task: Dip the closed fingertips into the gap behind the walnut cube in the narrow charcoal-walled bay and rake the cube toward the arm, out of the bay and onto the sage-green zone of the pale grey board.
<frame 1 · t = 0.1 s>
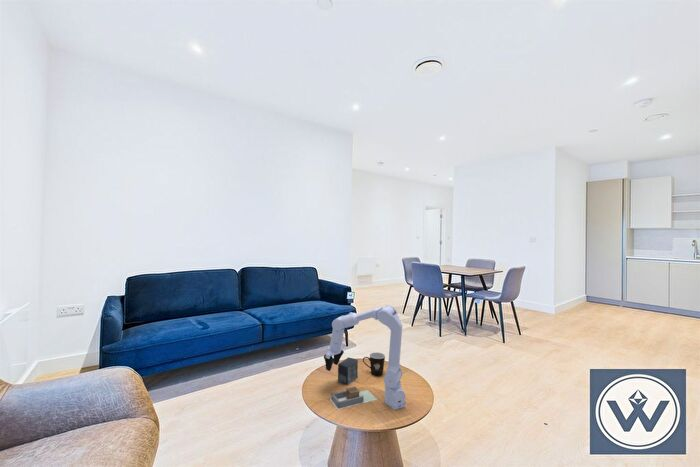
hand: (331, 367, 150), 11 cm above the table, tool pointing down, fingers open, 7 cm apart
bay board: (354, 401, 138), on the table
walnut cube: (352, 399, 138), point 1 cm above the table, touching bay board
small box: (347, 381, 157), on the table
coffee mug: (374, 373, 167), on the table
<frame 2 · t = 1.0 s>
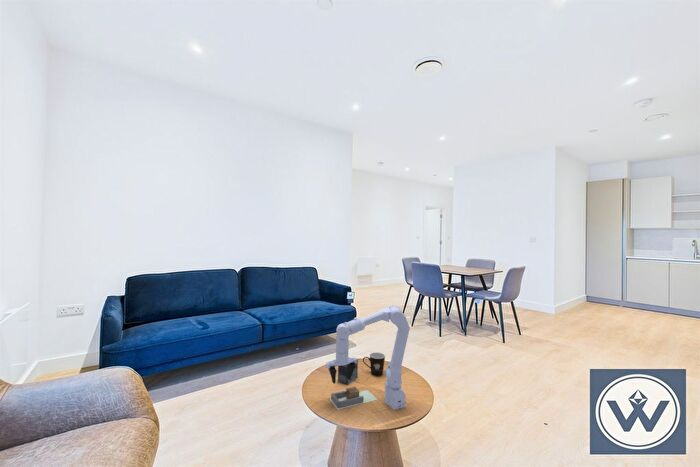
hand: (341, 380, 136), 10 cm above the table, tool pointing down, fingers open, 7 cm apart
nothing on the table moved.
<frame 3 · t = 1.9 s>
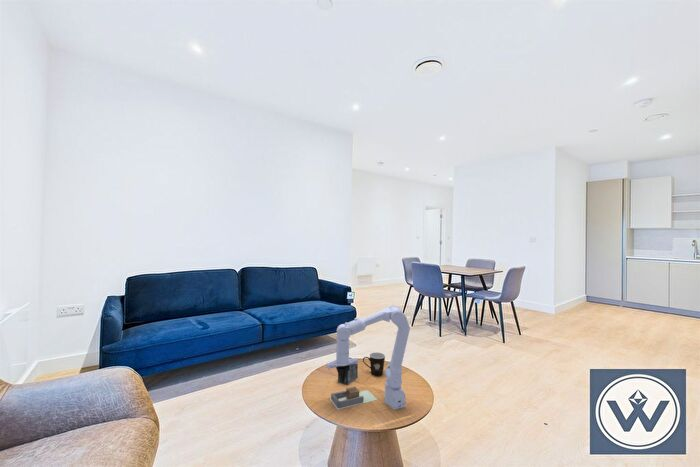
hand: (342, 381, 136), 10 cm above the table, tool pointing down, fingers closed
nothing on the table moved.
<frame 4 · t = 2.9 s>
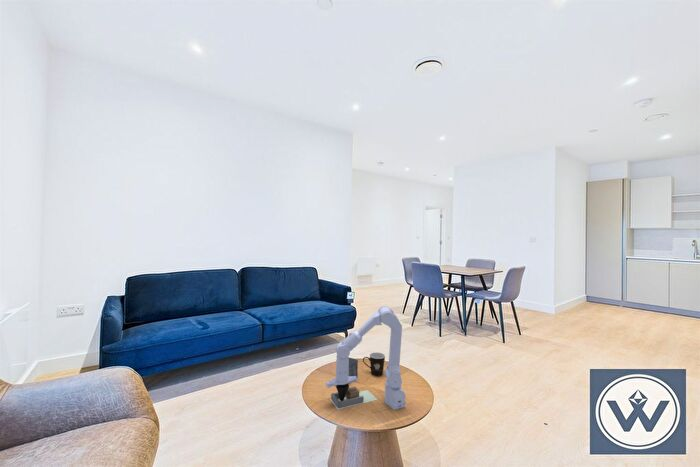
hand: (341, 399, 136), 2 cm above the table, tool pointing down, fingers closed
nothing on the table moved.
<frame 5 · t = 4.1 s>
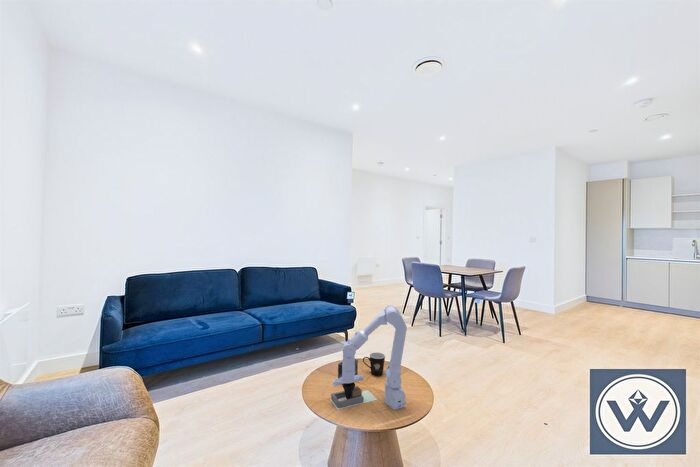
hand: (347, 398, 137), 2 cm above the table, tool pointing down, fingers closed
walnut cube: (355, 398, 139), point 1 cm above the table, touching gripper
everything else where it was.
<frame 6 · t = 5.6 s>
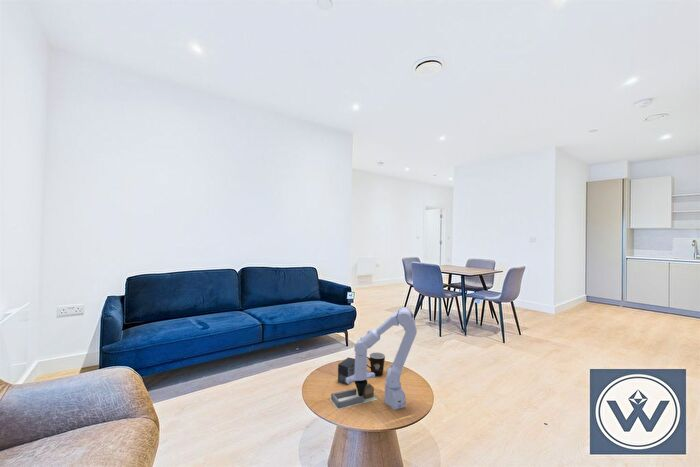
hand: (360, 395, 140), 2 cm above the table, tool pointing down, fingers closed
walnut cube: (366, 395, 141), point 1 cm above the table, touching bay board, gripper
everything else where it was.
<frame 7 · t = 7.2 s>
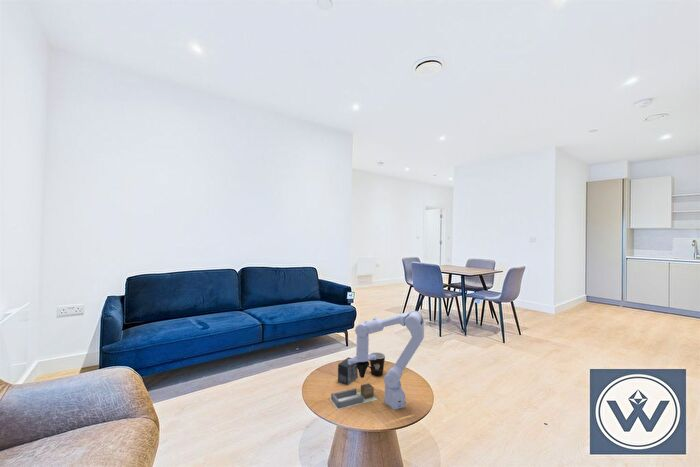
hand: (361, 376, 143), 9 cm above the table, tool pointing down, fingers closed
walnut cube: (366, 395, 141), point 1 cm above the table, touching bay board
everything else where it was.
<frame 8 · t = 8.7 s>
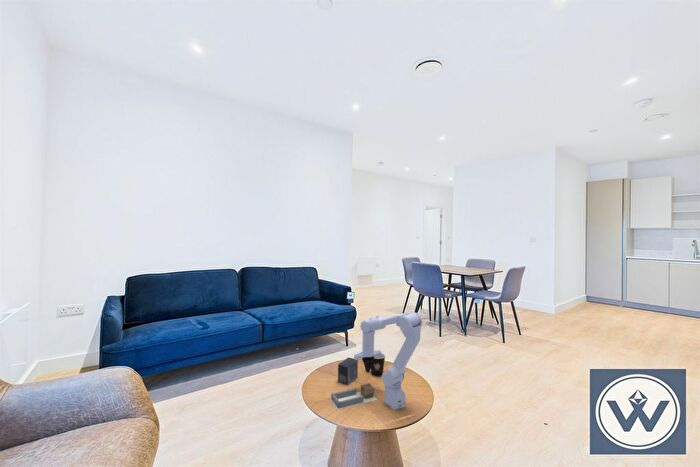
hand: (367, 371, 148), 9 cm above the table, tool pointing down, fingers closed
nothing on the table moved.
at the end: walnut cube inside the target area (0.5 cm from its centre), point 1.0 cm above the table; walnut cube tilted 0°; walnut cube moved 7.7 cm from its start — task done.
